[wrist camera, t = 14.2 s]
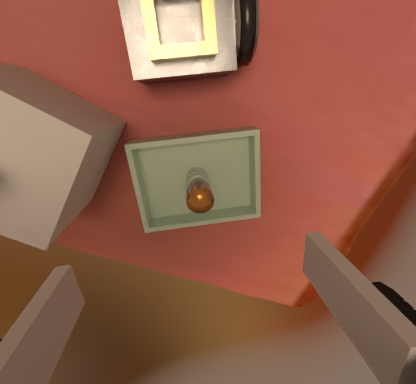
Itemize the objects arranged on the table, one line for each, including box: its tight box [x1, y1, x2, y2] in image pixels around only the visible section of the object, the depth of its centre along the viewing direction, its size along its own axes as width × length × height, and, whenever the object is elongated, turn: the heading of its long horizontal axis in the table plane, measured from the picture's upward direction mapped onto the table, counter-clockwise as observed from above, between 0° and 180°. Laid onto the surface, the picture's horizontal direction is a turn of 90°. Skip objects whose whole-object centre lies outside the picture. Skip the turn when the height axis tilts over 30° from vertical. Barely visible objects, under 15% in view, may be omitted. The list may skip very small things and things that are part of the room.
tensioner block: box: [118, 0, 259, 84], centre depth 28 cm, size 15×10×10 cm, turn 96°
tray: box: [124, 126, 261, 233], centre depth 38 cm, size 20×15×4 cm
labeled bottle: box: [186, 167, 214, 214], centre depth 35 cm, size 4×4×10 cm
